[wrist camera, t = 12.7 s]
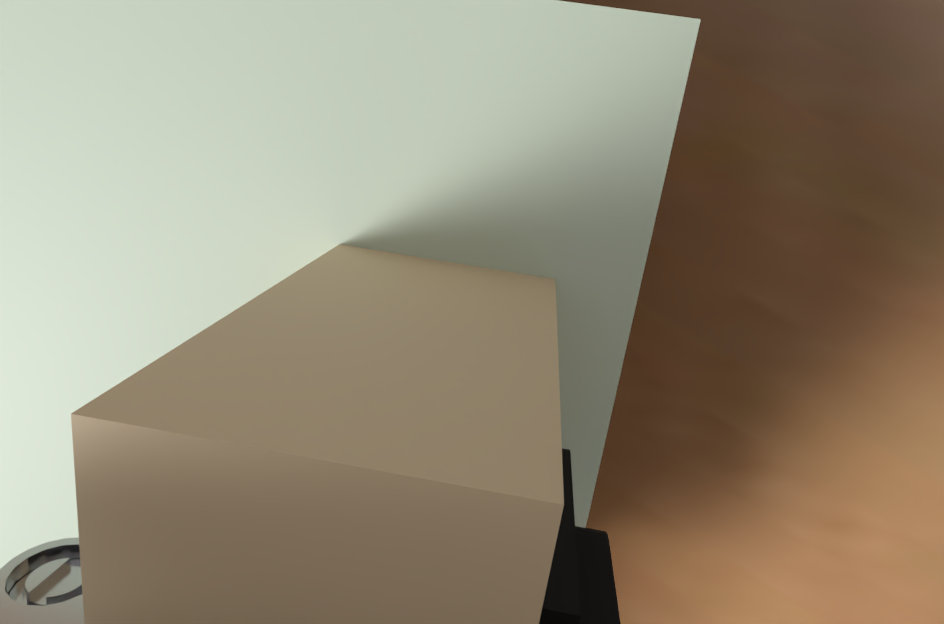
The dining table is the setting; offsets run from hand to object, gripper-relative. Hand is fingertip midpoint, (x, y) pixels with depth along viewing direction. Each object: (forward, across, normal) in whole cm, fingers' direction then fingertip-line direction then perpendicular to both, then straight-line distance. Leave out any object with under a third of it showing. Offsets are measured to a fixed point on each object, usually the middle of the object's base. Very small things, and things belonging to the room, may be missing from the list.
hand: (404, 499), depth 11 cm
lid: (+3, +4, 0) cm, 5 cm away
